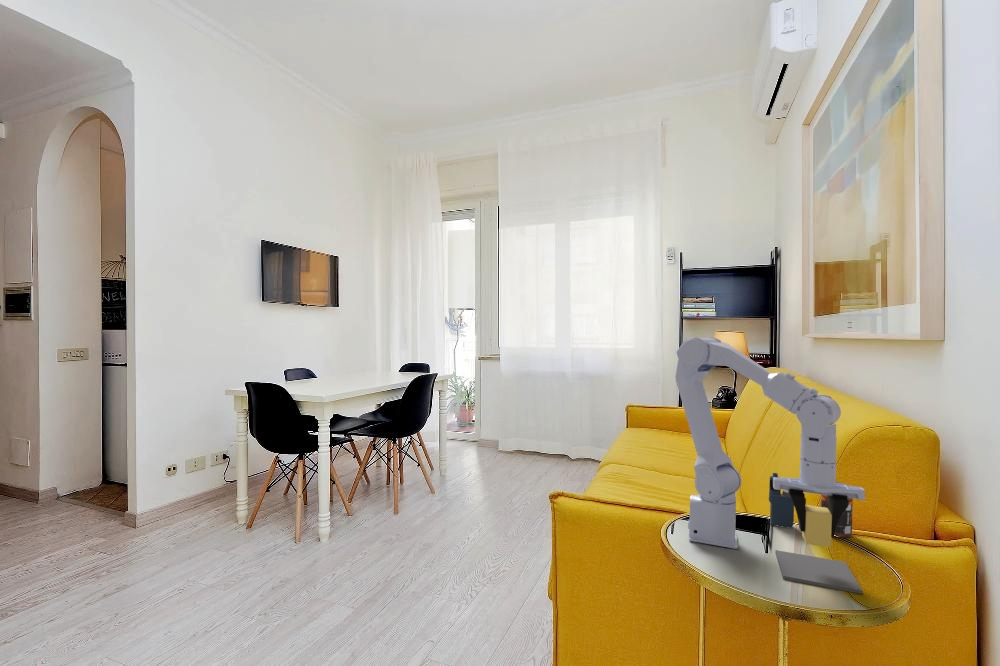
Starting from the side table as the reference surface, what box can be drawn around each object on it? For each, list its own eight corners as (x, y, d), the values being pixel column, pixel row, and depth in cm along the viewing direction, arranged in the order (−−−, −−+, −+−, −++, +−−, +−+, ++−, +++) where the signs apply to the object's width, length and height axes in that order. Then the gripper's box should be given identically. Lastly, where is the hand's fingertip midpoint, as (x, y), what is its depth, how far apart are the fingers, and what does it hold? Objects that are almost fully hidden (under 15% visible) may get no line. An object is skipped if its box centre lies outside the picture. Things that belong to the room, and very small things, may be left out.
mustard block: (805, 543, 93) (806, 511, 93) (802, 535, 96) (802, 504, 96) (830, 547, 91) (831, 514, 91) (826, 539, 95) (827, 507, 95)
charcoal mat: (783, 579, 91) (783, 575, 91) (775, 552, 102) (775, 550, 102) (862, 594, 86) (862, 590, 86) (845, 564, 97) (845, 561, 97)
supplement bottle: (857, 540, 109) (858, 488, 109) (827, 537, 111) (828, 486, 111) (844, 529, 115) (845, 481, 115) (815, 527, 116) (817, 479, 116)
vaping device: (767, 521, 119) (768, 471, 119) (792, 525, 117) (793, 474, 117) (768, 525, 117) (770, 474, 117) (794, 529, 115) (795, 477, 115)
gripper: (776, 460, 93) (775, 532, 93) (870, 470, 87) (868, 547, 87) (772, 452, 100) (770, 520, 100) (859, 461, 94) (857, 532, 94)
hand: (816, 532), depth 94 cm, fingers closed on mustard block, 4 cm apart
